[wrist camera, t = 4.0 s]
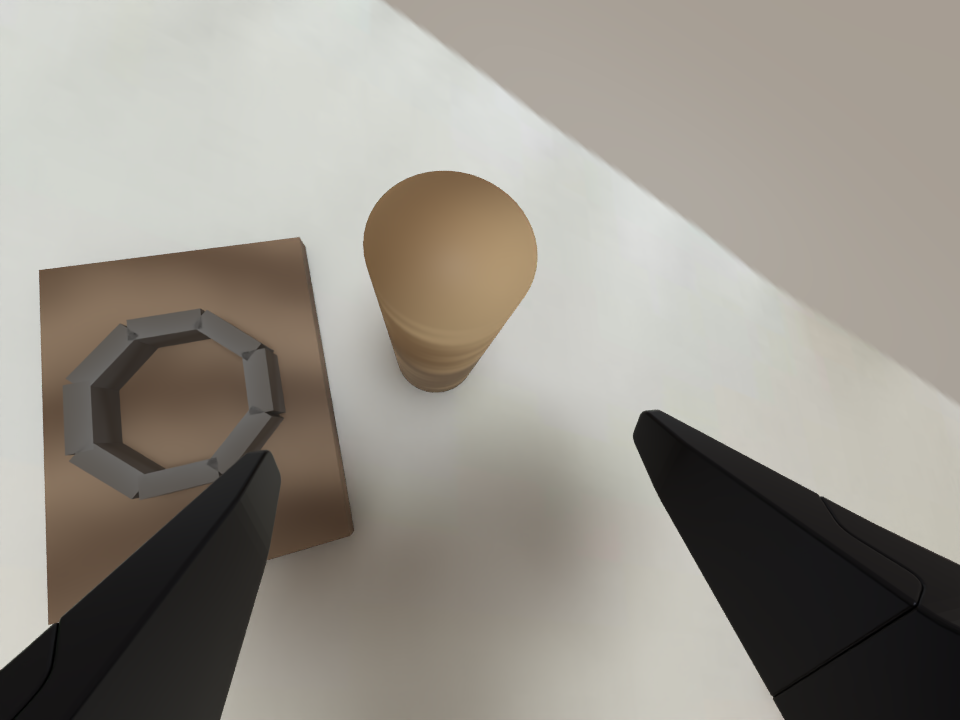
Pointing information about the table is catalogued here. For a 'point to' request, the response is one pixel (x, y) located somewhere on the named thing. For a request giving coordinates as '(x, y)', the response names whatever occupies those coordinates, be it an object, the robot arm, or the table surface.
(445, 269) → the light brown tall cylinder
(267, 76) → the table surface
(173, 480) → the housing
